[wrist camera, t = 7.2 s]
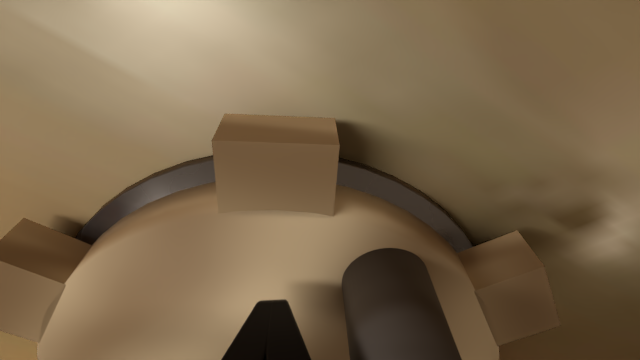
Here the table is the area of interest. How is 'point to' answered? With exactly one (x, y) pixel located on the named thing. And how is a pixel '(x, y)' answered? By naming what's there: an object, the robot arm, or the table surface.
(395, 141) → the table surface
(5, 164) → the table surface
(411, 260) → the sprocket disc
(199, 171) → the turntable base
